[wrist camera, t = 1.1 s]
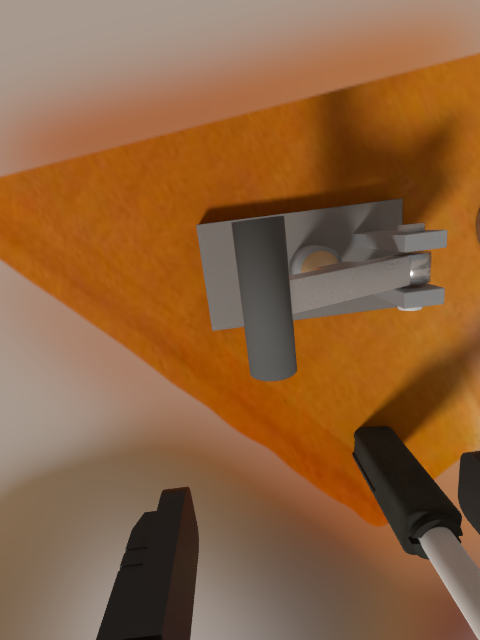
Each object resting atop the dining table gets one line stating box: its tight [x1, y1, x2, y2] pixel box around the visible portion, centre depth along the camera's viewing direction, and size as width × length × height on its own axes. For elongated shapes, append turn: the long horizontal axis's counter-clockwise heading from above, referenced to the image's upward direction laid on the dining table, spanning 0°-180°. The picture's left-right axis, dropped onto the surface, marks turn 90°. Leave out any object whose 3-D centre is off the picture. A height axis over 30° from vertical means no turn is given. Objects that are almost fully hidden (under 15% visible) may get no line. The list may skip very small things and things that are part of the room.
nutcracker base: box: [196, 198, 447, 331], centre depth 29 cm, size 20×11×12 cm, turn 97°
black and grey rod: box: [353, 426, 480, 640], centre depth 30 cm, size 5×5×25 cm
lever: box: [231, 216, 431, 381], centre depth 23 cm, size 16×10×4 cm, turn 97°
